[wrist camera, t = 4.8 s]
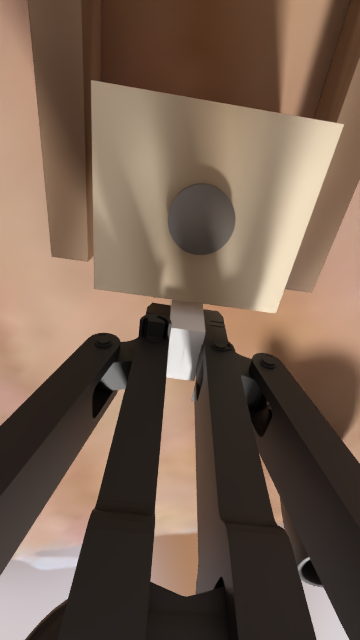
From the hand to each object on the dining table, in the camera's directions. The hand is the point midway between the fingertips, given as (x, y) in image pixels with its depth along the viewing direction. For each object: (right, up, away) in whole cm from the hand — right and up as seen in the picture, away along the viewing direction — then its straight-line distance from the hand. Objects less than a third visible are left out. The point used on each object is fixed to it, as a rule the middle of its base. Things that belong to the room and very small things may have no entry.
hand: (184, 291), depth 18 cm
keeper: (+1, +6, -1) cm, 6 cm away
